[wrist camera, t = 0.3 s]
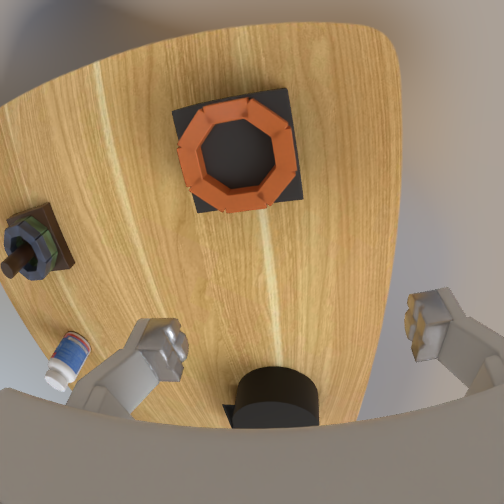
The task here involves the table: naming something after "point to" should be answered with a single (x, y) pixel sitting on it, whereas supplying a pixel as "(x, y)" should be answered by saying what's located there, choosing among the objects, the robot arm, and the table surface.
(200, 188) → the orange ring
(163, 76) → the table surface
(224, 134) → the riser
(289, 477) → the robot arm
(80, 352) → the pill bottle
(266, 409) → the black cylinder with pointer
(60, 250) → the stack post
